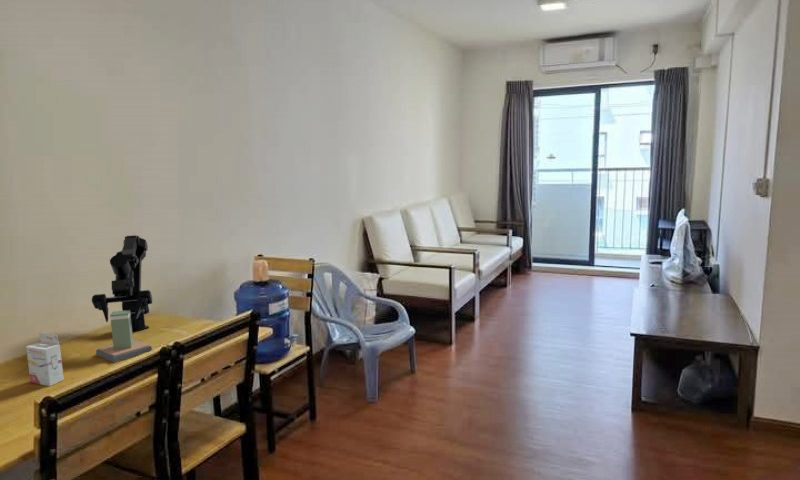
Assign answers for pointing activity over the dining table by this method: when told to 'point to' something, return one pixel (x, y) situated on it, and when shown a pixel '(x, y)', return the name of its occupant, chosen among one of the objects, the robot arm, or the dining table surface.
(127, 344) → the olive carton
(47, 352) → the ink cartridge box
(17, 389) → the dining table surface
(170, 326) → the dining table surface
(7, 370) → the dining table surface
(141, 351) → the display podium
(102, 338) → the dining table surface
